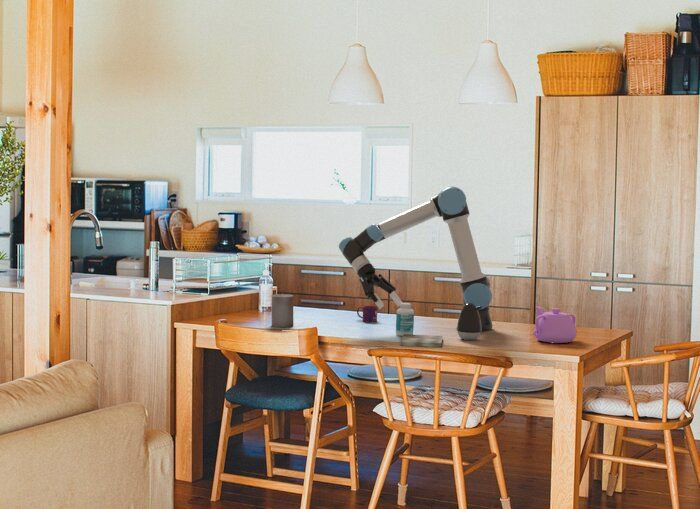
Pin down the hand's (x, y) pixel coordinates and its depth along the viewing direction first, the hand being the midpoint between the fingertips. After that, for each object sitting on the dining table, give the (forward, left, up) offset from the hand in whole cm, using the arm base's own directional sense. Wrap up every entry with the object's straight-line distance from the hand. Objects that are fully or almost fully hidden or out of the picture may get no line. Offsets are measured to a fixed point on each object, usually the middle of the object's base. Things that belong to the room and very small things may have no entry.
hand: (391, 305), depth 399 cm
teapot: (-67, +1, -12) cm, 68 cm away
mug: (+14, -37, -12) cm, 42 cm away
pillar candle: (+49, -10, -12) cm, 51 cm away
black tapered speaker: (-33, +7, -12) cm, 36 cm away
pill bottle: (-6, +3, -12) cm, 14 cm away
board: (-14, +20, -12) cm, 27 cm away
